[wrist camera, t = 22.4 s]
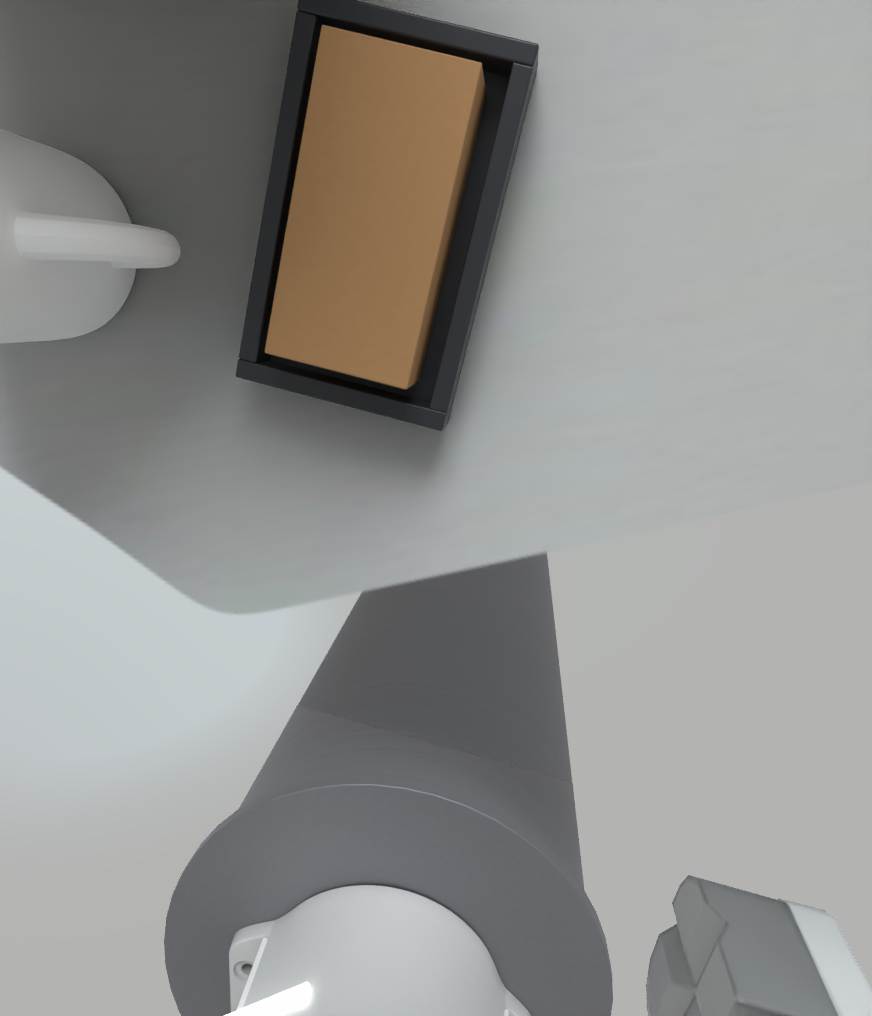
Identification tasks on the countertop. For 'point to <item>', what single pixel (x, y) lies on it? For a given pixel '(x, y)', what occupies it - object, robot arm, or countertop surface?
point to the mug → (65, 245)
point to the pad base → (477, 222)
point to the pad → (374, 205)
